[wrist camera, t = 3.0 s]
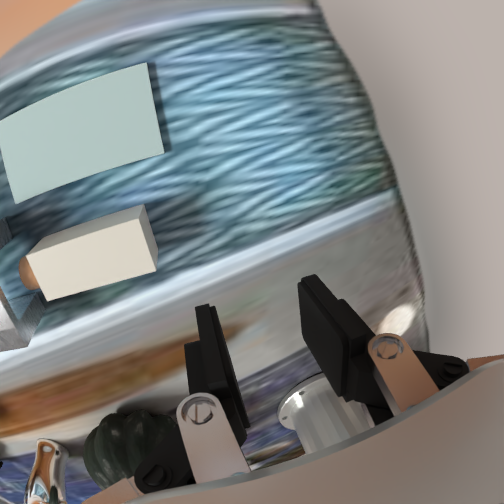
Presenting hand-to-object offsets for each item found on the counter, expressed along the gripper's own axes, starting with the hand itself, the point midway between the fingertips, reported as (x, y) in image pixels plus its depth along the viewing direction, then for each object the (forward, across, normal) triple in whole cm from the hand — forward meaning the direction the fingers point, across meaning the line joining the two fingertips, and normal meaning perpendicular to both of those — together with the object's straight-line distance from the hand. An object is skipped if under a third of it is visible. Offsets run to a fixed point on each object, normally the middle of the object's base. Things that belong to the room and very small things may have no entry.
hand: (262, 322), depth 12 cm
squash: (+16, +17, +26) cm, 35 cm away
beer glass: (+15, +36, +30) cm, 49 cm away
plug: (+15, +11, 0) cm, 19 cm away
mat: (+15, +10, -10) cm, 20 cm away
